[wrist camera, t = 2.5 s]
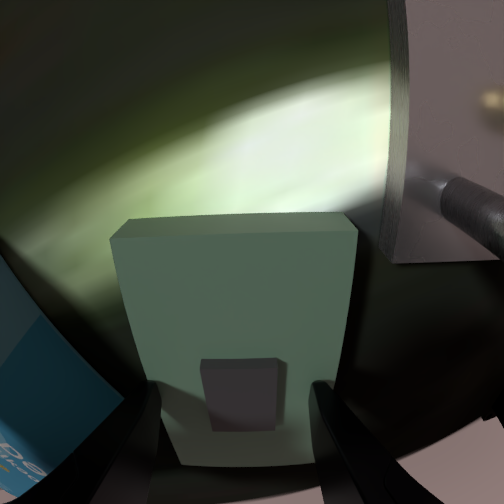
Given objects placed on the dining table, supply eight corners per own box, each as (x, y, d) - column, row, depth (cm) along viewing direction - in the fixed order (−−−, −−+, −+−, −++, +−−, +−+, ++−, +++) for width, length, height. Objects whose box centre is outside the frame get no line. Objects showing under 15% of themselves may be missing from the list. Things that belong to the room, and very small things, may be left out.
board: (331, 199, 9) (364, 237, 6) (307, 418, 13) (316, 470, 10) (141, 206, 9) (102, 245, 6) (188, 420, 13) (180, 472, 10)
